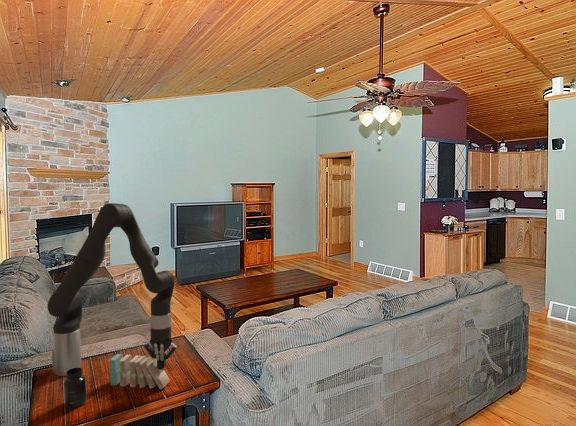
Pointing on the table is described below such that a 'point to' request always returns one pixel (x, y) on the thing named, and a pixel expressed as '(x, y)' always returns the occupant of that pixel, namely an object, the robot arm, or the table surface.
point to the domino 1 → (115, 369)
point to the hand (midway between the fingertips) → (161, 368)
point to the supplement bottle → (75, 388)
